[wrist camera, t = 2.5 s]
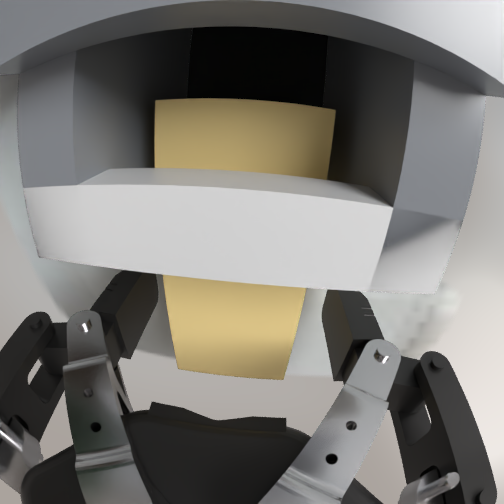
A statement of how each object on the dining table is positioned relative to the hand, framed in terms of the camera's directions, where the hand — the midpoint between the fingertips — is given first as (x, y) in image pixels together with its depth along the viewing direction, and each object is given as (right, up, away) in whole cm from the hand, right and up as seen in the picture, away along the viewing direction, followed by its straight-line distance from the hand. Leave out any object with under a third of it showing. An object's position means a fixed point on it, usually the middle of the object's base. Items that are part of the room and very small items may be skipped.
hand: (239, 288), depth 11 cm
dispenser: (+1, +10, -4) cm, 10 cm away
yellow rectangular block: (0, +3, 0) cm, 3 cm away
